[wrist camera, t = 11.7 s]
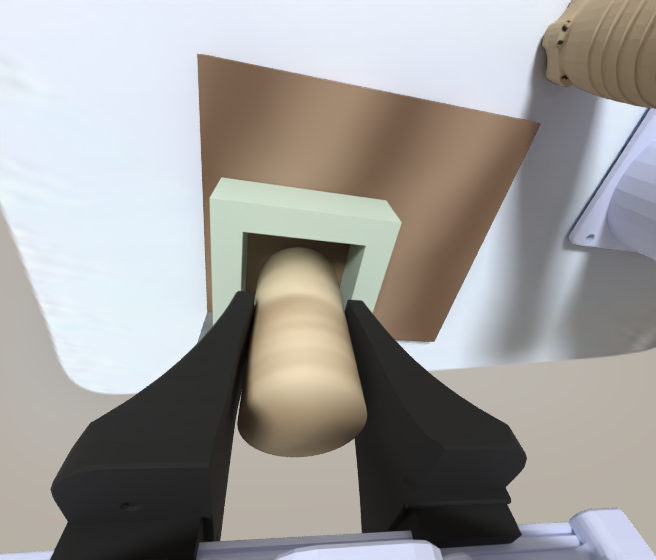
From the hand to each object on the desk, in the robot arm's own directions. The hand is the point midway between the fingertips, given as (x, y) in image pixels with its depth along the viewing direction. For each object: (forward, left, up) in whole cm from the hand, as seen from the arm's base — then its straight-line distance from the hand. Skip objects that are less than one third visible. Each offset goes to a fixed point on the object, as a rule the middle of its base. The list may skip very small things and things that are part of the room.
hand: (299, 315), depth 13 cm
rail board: (-3, -1, -5) cm, 6 cm away
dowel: (0, 0, -2) cm, 2 cm away
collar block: (0, 0, -4) cm, 4 cm away
